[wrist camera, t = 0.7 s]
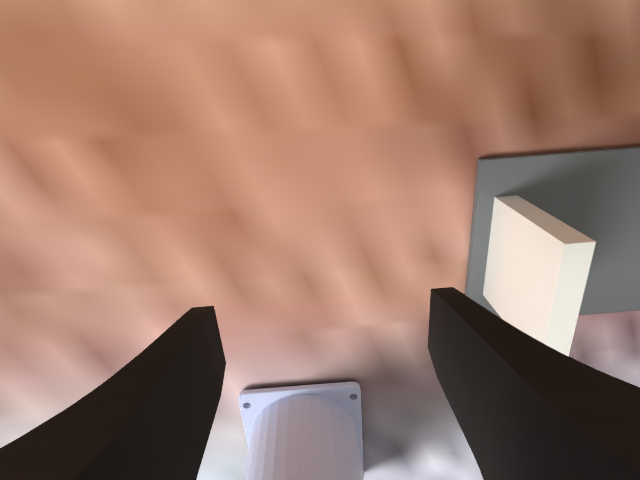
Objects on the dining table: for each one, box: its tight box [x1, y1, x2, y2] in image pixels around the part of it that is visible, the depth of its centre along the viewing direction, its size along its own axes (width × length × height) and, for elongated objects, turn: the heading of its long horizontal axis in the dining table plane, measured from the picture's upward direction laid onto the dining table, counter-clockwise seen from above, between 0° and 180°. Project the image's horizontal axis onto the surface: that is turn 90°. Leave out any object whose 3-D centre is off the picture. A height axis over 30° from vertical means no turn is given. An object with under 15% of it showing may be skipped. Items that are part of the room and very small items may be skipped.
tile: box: [483, 195, 596, 356], centre depth 19 cm, size 6×1×6 cm, turn 4°
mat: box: [465, 146, 640, 319], centre depth 22 cm, size 10×13×1 cm
